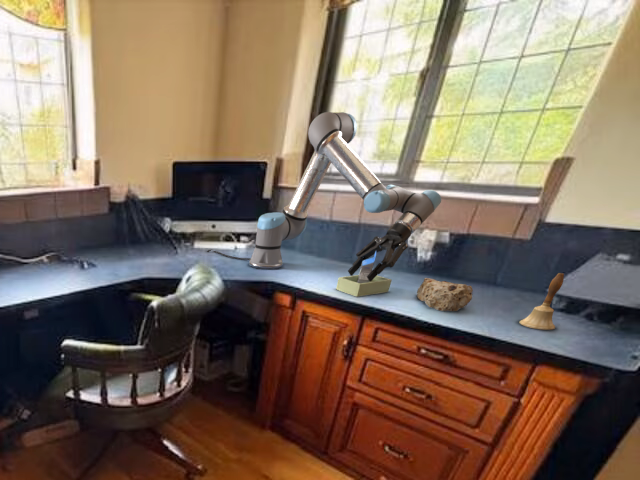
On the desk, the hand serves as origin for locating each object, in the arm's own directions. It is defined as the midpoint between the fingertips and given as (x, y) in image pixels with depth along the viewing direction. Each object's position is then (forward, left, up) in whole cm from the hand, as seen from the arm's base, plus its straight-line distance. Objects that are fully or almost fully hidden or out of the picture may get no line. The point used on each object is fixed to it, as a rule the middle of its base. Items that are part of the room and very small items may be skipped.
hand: (359, 276), depth 161 cm
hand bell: (+49, +22, -6) cm, 54 cm away
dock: (0, +3, -6) cm, 7 cm away
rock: (+23, +16, -6) cm, 29 cm away
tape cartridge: (0, +3, -4) cm, 5 cm away
